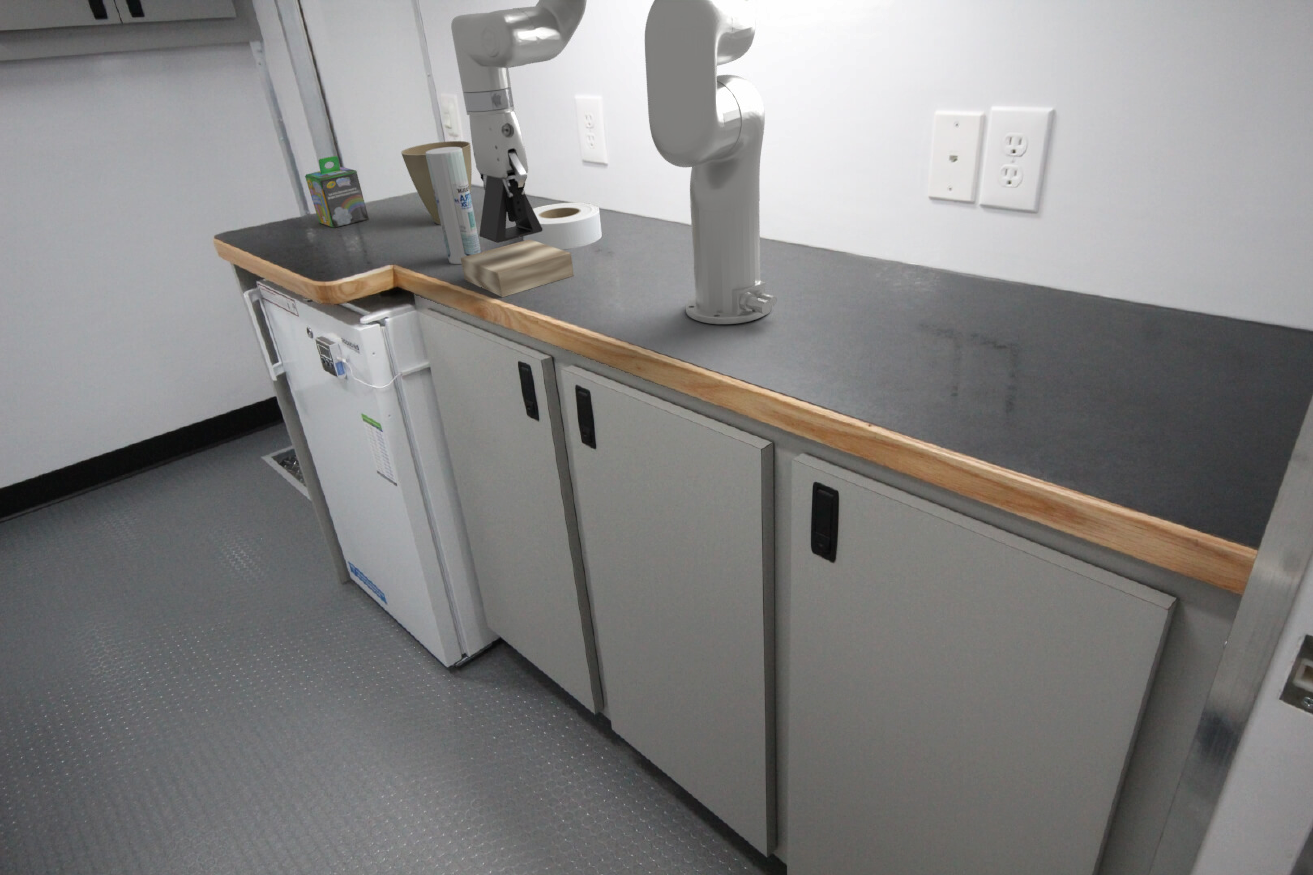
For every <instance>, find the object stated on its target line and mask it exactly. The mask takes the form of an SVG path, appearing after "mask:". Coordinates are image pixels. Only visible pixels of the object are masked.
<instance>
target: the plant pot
mask: <svg viewBox="0 0 1313 875" xmlns="http://www.w3.org/2000/svg"><path fill="white" fill-rule="evenodd" d="M444 147H460V148H462V152H463V157H464V162H465V168H466V173H467V179H468V184H469V190H470V195H471V194H472V179H473V178H472V174H473V173H472V152H471V151H472V149H471V143H470V142H469V141H464V140H462V141H461V140H455V141H454V140H447V141H439V142H438V141H437V142H432V143H431V142H430V143H425V144H420V145H415V146H410V147H407V148H405V149H403V150H401V152H400V154H401V157H402V158H403V161H404V162H403V163H404V164H405V166H406V169H407V172H408V174H409V177H410V179H411V182H412V183H413V185H414V187H415V188H414V189H416V191H417V193H418V197H420V199H421V202H422V203H423V205H424V207H425V208H426V210H427V212H428V214H429V215H430V217H431V218H432V220H433V221H434V223H436V224H437V225H441V222H440V218H439V213H438V209H437V204H436V200H435V195H434V191H433V186H432V182H431V177H430V172H429V168H428V163H427V159H426V154H425V153H426V152H427V151H429V150H432V149H437V148H444Z"/></svg>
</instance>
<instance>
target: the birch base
mask: <svg viewBox="0 0 1313 875" xmlns="http://www.w3.org/2000/svg"><path fill="white" fill-rule="evenodd" d="M572 260H573V258H572V253H571V252H569V251H566V250H560V249H557V248H554V247H551V246H548V245H545V244H542V243H539V242H536V241H533V240H530V239H529V240H525V241H524V240H522V241H518V242H516V243H515V242H514V243H512V244H511V243H510V244H507V245H504V246H500V247H499V246H498V247H496V248H492V249H489V250H484V251H481V252H480V253H477V254H473V255H469V256H465V257H462V258H461V263H462V264H461V268H462V272H463V277H464V280H465V281H466V280H467V281H466V282H468V283H471V284H473V285H475V286H476V287H479V288H481V287H482V289H483V290H486V291H488V292H489V293H490V292H491V293H493V294H495V295H497V296H499V297H502V298H505V297H507V296H511V295H514V294H518V293H521V292H525V291H527V290H528V291H529V290H531V289H534V288H538V287H541V286H544V285H548V284H550V283H551V284H552V283H554V282H557V281H561V280H564V279H567V278H571V277H573V276H575V275H574V273H575V272H574V267H573V261H572Z"/></svg>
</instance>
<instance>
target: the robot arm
mask: <svg viewBox="0 0 1313 875" xmlns="http://www.w3.org/2000/svg"><path fill="white" fill-rule="evenodd" d="M756 3H757V0H653V2H652V4H651V6H650V8H649V10H648V11H649V12H648V14H647V18H646V22H645V27H644V28H645V29H644V57H645V58H644V59H645V75H646V76H645V78H646V93H647V95H646V96H647V112H648V113H647V114H648V123H649V124H648V125H649V131H650V135H651V138H652V141H653V145H654V146H655V148H656V151H658V153H659V155H660V156H661V157H662V158H663V159H664V161H666V162H668V163H669V164H671V165H673V166H675V167H679V168H691V170H690V180H689V199H690V200H689V203H690V205H689V206H690V221H691V222H690V223H691V239H692V256H693V258H692V259H693V272H694V273H693V274H694V275H693V276H694V291H695V294H694V295H693V296H691V297H690V298H689V299H688V300H687V301H686V303H685V313H686V314H687V316H688V317H689V318H691V319H693V320H695V321H696V322H697V321H698V322H701V323H704V324H705V323H706V324H709V325H711V324H713V325H734V324H737V325H738V324H744V323H747V322H748V323H749V322H752V321H754V320H755V321H756V320H758V319H761V318H763V317H764V316H766V315H768V314H769V313H771V311H772V307H774V306H775V305H777V302H778V298H777V296H775V295H773V294H768V293H766V281H763V280H761V241H760V240H761V239H760V237H761V234H760V231H761V230H760V229H761V228H760V226H761V225H760V224H761V223H760V198H761V197H760V171H761V170H760V166H761V155H762V149H763V148H762V147H763V140H764V133H765V132H764V131H765V124H766V123H765V121H766V120H765V119H766V118H765V117H766V116H765V115H766V114H765V107H764V103H763V100H762V97H761V94H760V93H759V91H758V89H757V88H756V87H755V86H754V84H752V83H751V82H750V81H749V80H747V79H745V78H744V77H741V76H738V75H734V74H733V75H732V74H720V75H718V73H717V72H718V66H721V65H722V66H723V65H726V64H728V63H732V62H733V61H736V60H739V59H740V58H742V56H744V55H745V54H746V53H747V52H748V51H749V50H750V47H751V46H752V45H753V42H754V39H755V34H756V19H757V18H756V13H757V10H756V9H757V8H756ZM586 7H587V0H538V1H537V3H536V4H535V6H527V7H526V6H525V7H515V8H507V9H500V10H493V11H490V12H479V13H478V12H476V13H468V14H467V13H466V14H459V15H457V16H455V17H453V19H452V21H451V24H450V26H451V27H450V30H451V35H452V39H453V40H452V41H453V45H454V50H455V56H456V61H457V62H456V63H457V68H458V73H459V78H460V80H459V81H460V85H461V89H462V95H463V101H464V106H465V112H466V115H467V116H469V129H470V130H469V131H470V137H471V145H472V150H473V156H474V161H475V167H476V169H477V171H478V174H479V175H480V179H481V181H482V182H483V184H482V185H483V186H482V187H483V190H484V191H485V188H486V178H487V176H490V177H494V178H498V179H502V181H503V184H504V188H505V191H506V194H507V196H508V197H505V201H506V207H507V219H508V221H509V222H511V223H513V222H514V223H515V221H518V220H522V219H526V218H527V213H526V207H525V200H524V194H525V195H526V192H525V186H526V181H527V180H528V172H529V166H528V159H527V154H526V149H525V143H524V139H523V135H522V130H521V127H520V126H521V125H520V123H519V120H518V117H517V113H516V111H515V106H514V98H513V94H512V93H513V92H512V87H511V86H512V85H511V78H510V71H509V68H514V67H523V66H525V65H530V64H536V63H543V62H548V61H551V60H553V59H555V58H556V57H558V56H559V55H560V54H561V53H562V52H563V50H565V48H566V47H567V45H568V44H569V42H570V41H571V39H572V37H573V35H574V34H575V32H576V30H577V29H578V27H579V25H580V24H581V21H582V20H583V17H584V15H585V11H586ZM511 172H513V174H514V175H511V176H508V173H511ZM511 180H515V181H513V182H512V185H511V187H510V184H509V181H511Z"/></svg>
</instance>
